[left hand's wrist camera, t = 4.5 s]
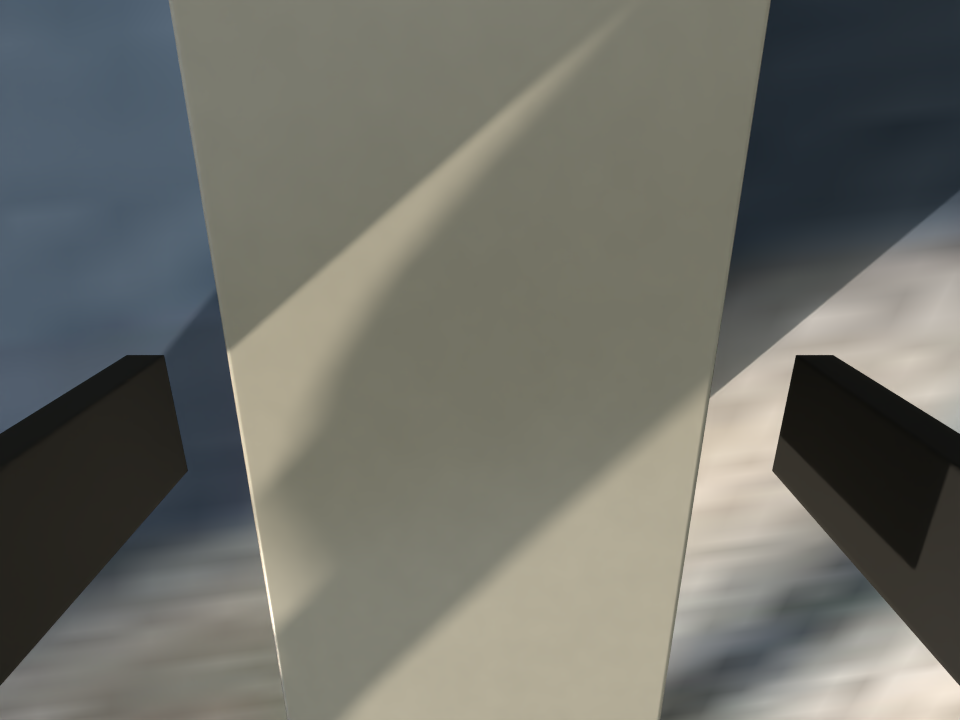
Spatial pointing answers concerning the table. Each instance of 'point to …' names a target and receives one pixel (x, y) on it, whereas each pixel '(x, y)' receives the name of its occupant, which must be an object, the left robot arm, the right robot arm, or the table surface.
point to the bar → (471, 331)
